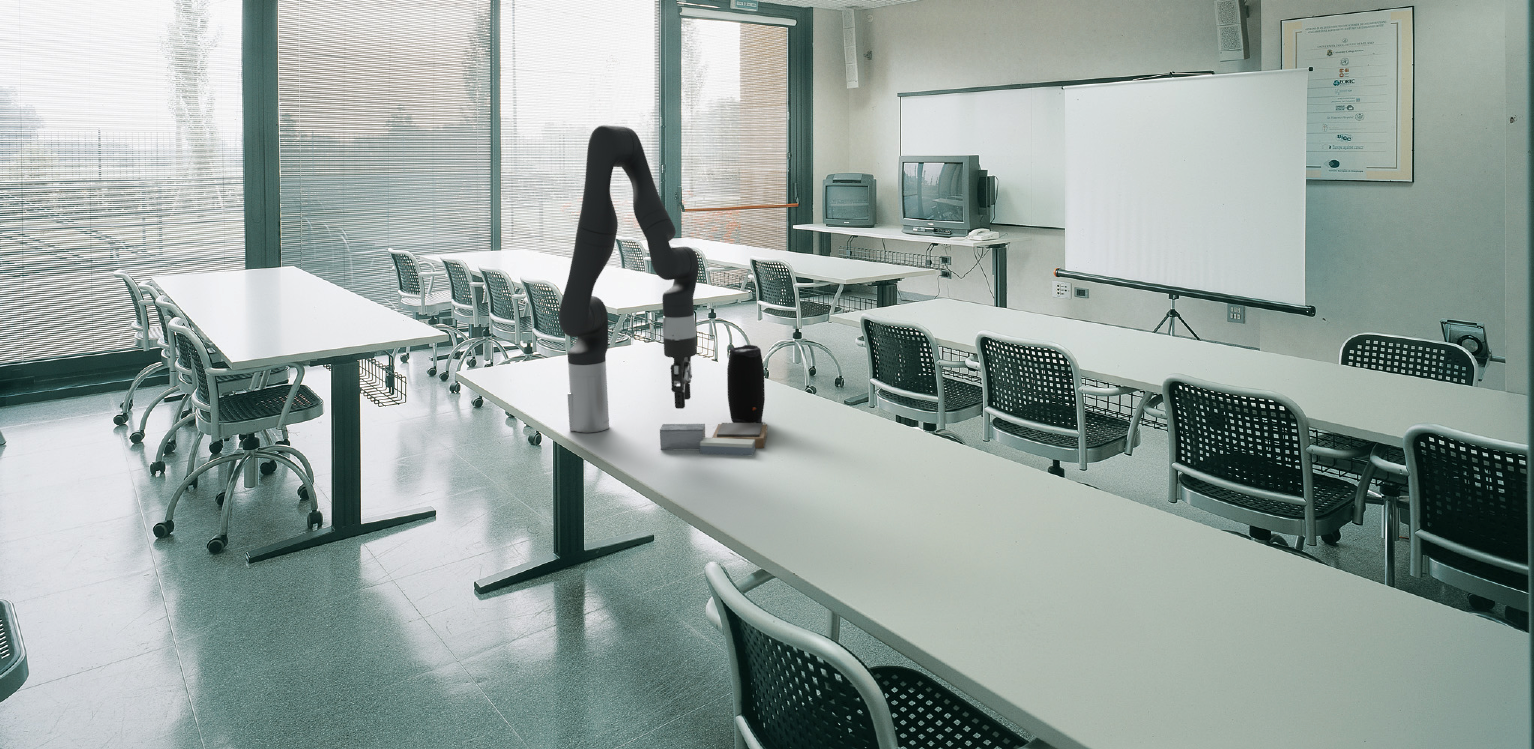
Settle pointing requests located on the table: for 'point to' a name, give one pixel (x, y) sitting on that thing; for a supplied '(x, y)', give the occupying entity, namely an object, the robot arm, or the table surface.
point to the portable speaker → (746, 384)
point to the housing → (681, 436)
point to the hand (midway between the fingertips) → (683, 403)
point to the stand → (743, 432)
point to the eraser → (727, 446)
